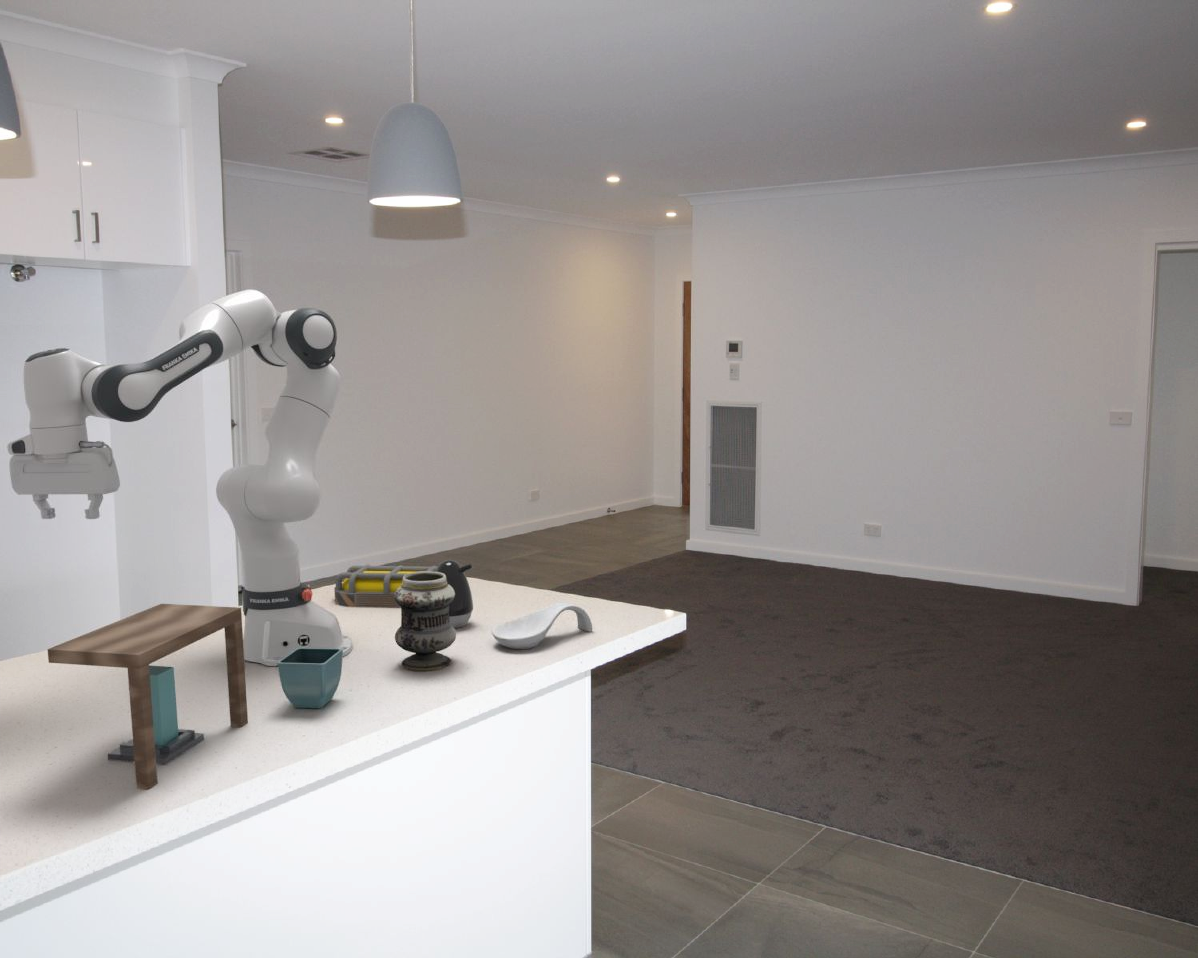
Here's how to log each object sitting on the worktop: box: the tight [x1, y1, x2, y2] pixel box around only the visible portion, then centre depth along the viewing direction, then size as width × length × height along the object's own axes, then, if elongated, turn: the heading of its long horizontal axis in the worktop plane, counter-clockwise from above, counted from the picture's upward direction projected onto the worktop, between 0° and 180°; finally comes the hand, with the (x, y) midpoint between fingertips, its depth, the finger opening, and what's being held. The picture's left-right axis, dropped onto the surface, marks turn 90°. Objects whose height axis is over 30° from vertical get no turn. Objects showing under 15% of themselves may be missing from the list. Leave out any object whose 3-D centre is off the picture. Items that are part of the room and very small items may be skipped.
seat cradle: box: [107, 728, 205, 766], centre depth 159 cm, size 10×10×2 cm
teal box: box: [149, 664, 179, 746], centre depth 158 cm, size 5×4×12 cm
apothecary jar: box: [394, 571, 457, 672], centre depth 199 cm, size 12×12×18 cm
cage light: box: [334, 564, 438, 609], centre depth 250 cm, size 15×8×30 cm
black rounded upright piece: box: [435, 559, 474, 629], centre depth 226 cm, size 10×10×15 cm
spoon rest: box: [491, 602, 593, 650], centre depth 215 cm, size 24×12×7 cm, turn 130°
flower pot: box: [276, 648, 343, 709], centre depth 178 cm, size 9×9×9 cm
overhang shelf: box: [47, 603, 249, 790], centre depth 157 cm, size 15×26×20 cm, turn 168°
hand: (70, 518), depth 179 cm, fingers open, 8 cm apart
